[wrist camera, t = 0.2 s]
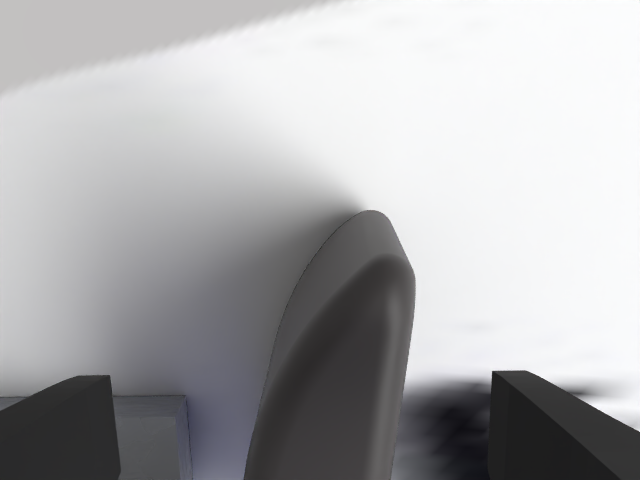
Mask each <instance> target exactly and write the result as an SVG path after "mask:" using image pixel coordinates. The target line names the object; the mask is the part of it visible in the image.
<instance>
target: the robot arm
mask: <svg viewBox="0 0 640 480" xmlns="http://www.w3.org/2000/svg"><path fill="white" fill-rule="evenodd" d="M487 468H488V472H489V476H490V479H491V480H640V432H639V431H637V430H635V429H633V428H631V427H629V426H627V425H626V424H624V423H622V422H620V421H618V420H616V419H614V418H612V417H611V416H609V415H607V414H605V413H603V412H601V411H600V410H598V409H596V408H594V407H593V406H591V405H589V404H587V403H585V402H584V401H582V400H580V399H578V398H577V397H575V396H573V395H571V394H570V393H568V392H566V391H564V390H563V389H561V388H559V387H557V386H556V385H554V384H552V383H550V382H548V381H547V380H545V379H543V378H541V377H539V376H537V375H535V374H533V373H530V372H528V371H492V386H491V406H490V426H489V446H488V466H487ZM120 473H121V464H120V456H119V447H118V439H117V430H116V422H115V413H114V405H113V397H112V388H111V380H110V375H92V376H76V377H73V378H70V379H67V380H64V381H62V382H60V383H57V384H55V385H53V386H51V387H48V388H46V389H44V390H42V391H40V392H38V393H36V394H34V395H31V396H29V397H27V398H25V399H23V400H21V401H19V402H17V403H15V404H13V405H11V406H9V407H7V408H5V409H3V410H1V411H0V480H118V478H119V475H120Z"/></svg>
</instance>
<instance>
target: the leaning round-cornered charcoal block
mask: <svg viewBox="0 0 640 480" xmlns="http://www.w3.org/2000/svg"><path fill="white" fill-rule="evenodd" d="M414 309H415V275H414V271H413V269H412V267H411V265H410V263H409V260H408V258H407V256H406V254H405V252H404V250H403V248H402V245H401V243H400V241H399V239H398V237H397V235H396V233H395V230H394V228H393V226H392V224H391V222H390V220H389V219H388V218H387V217H386V216H385V215H384V214H383V213H381V212H378V211H375V210H367V211H363V212H361V213H359V214H357V215H355V216H354V217H352V218H351V219H349V220H348V221H347V222H345V223H344V224H343V225H342V226H341V227H339V228H338V229H337V230H336V231H335V232H334V233H333V234H332V235H331V236H330V238H329V239H328V240H327V241H326V242H325V243H324V244H323V246H322V247H321V248H320V250H319V251H318V252H317V253H316V255H315V256H314V258H313V259H312V261H311V262H310V264H309V265H308V267H307V268H306V270H305V271H304V273H303V275H302V276H301V278H300V280H299V282H298V283H297V285H296V287H295V289H294V291H293V294H292V296H291V298H290V300H289V302H288V304H287V307H286V309H285V312H284V314H283V317H282V320H281V323H280V326H279V329H278V333H277V336H276V340H275V344H274V348H273V352H272V356H271V360H270V364H269V369H268V373H267V377H266V381H265V385H264V389H263V393H262V397H261V402H260V406H259V410H258V414H257V418H256V422H255V427H254V431H253V435H252V439H251V443H250V447H249V452H248V456H247V461H246V468H245V474H244V480H391V473H392V466H393V459H394V452H395V445H396V438H397V431H398V424H399V417H400V410H401V403H402V396H403V389H404V382H405V375H406V369H407V362H408V355H409V348H410V341H411V334H412V327H413V319H414Z"/></svg>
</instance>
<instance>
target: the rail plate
mask: <svg viewBox="0 0 640 480" xmlns="http://www.w3.org/2000/svg"><path fill="white" fill-rule="evenodd" d="M112 397H113V405H114V413H115V422H116V430H117V439H118V447H119V456H120V464H121V473H120V475H119V478H118V480H193V473H192V462H191V451H190V439H189V428H188V416H187V405H186V396H112ZM25 398H27V397H7V398H0V411H1V410H3V409H5V408H7V407H9V406H11V405H13V404H15V403H17V402H19V401H21V400H23V399H25Z"/></svg>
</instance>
